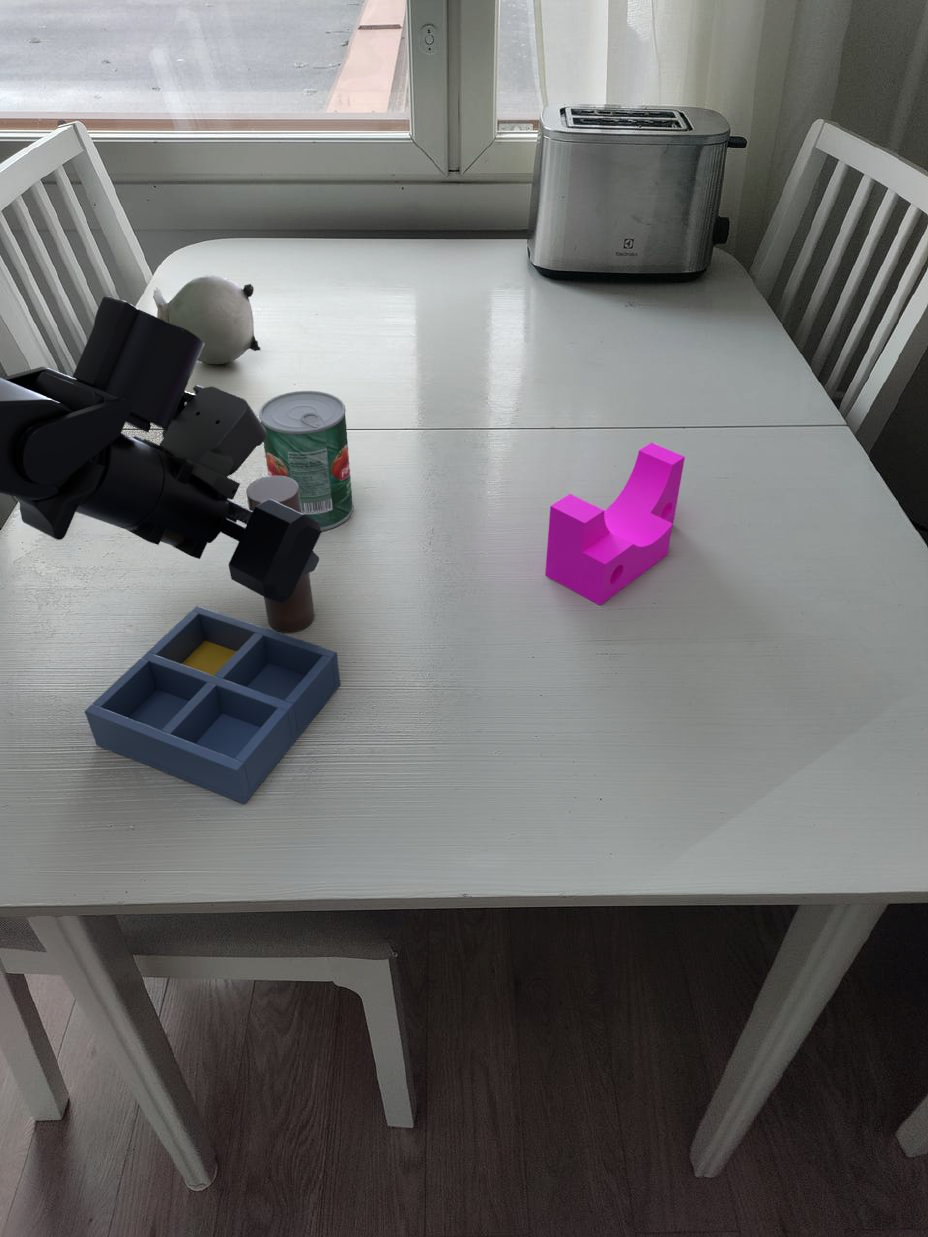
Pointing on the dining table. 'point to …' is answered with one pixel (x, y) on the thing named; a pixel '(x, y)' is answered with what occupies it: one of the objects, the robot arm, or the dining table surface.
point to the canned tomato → (311, 452)
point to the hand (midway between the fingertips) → (273, 543)
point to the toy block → (616, 529)
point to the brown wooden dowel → (300, 605)
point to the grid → (216, 702)
